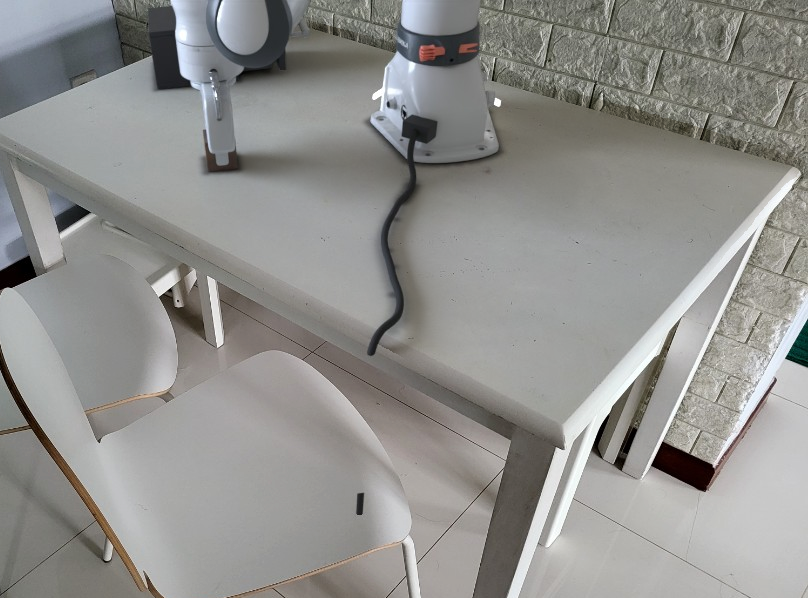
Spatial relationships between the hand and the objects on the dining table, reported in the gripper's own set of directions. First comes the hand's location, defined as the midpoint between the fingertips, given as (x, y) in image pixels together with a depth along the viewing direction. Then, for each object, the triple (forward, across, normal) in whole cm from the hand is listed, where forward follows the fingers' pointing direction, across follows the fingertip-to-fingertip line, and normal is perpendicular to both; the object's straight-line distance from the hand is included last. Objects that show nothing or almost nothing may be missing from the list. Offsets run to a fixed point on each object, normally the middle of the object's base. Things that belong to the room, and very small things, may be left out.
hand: (220, 153), depth 109 cm
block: (+2, 0, 0) cm, 2 cm away
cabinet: (+2, +36, +2) cm, 36 cm away
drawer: (+1, +36, -10) cm, 37 cm away
